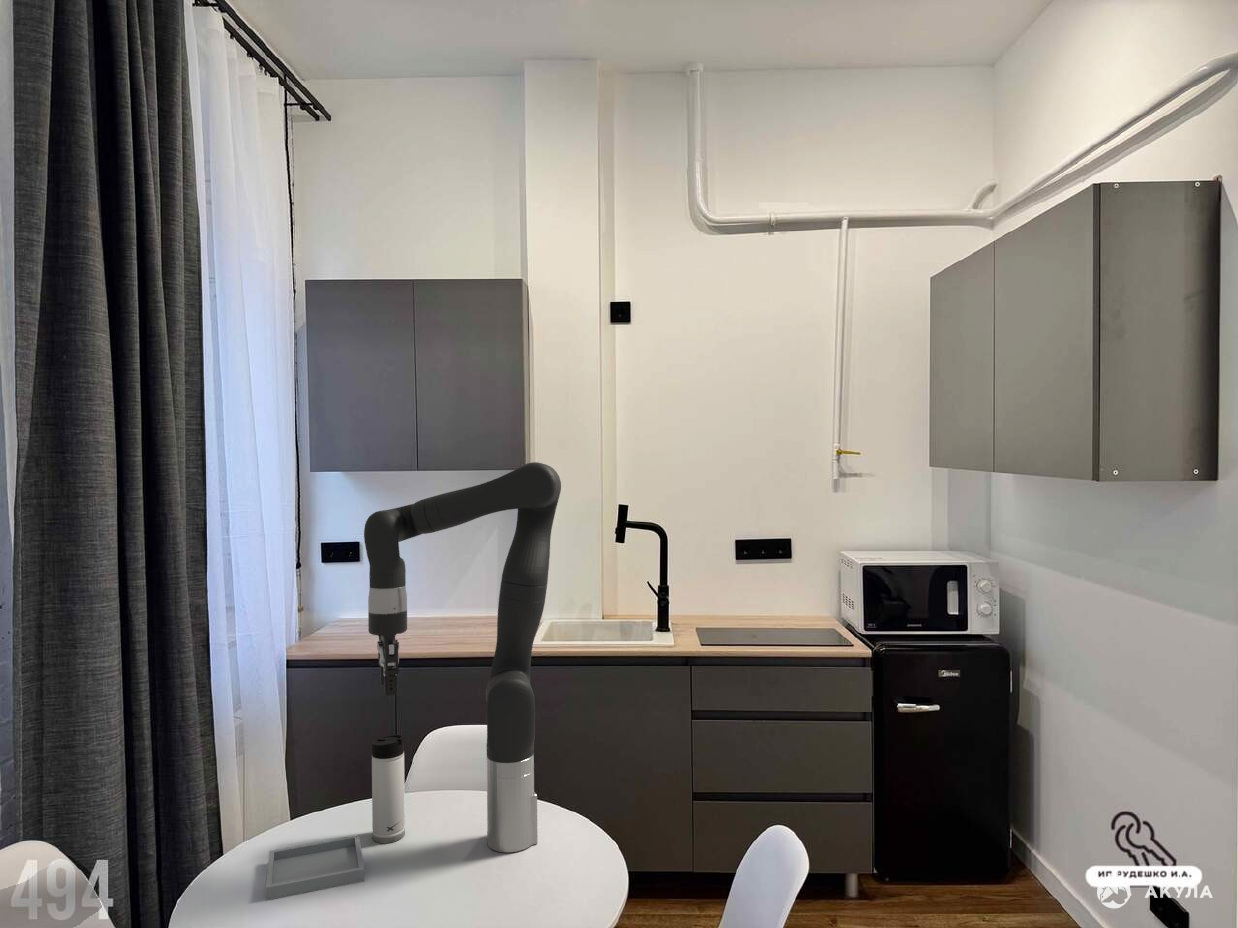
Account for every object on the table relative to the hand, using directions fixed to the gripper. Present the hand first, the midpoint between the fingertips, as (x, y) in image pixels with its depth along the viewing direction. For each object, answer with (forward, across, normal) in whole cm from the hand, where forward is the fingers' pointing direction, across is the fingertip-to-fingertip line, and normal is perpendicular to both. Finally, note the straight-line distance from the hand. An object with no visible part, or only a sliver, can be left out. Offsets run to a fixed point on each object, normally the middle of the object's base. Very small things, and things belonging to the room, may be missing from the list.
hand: (388, 689), depth 158 cm
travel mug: (+30, 0, 0) cm, 30 cm away
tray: (+30, -9, +14) cm, 34 cm away
